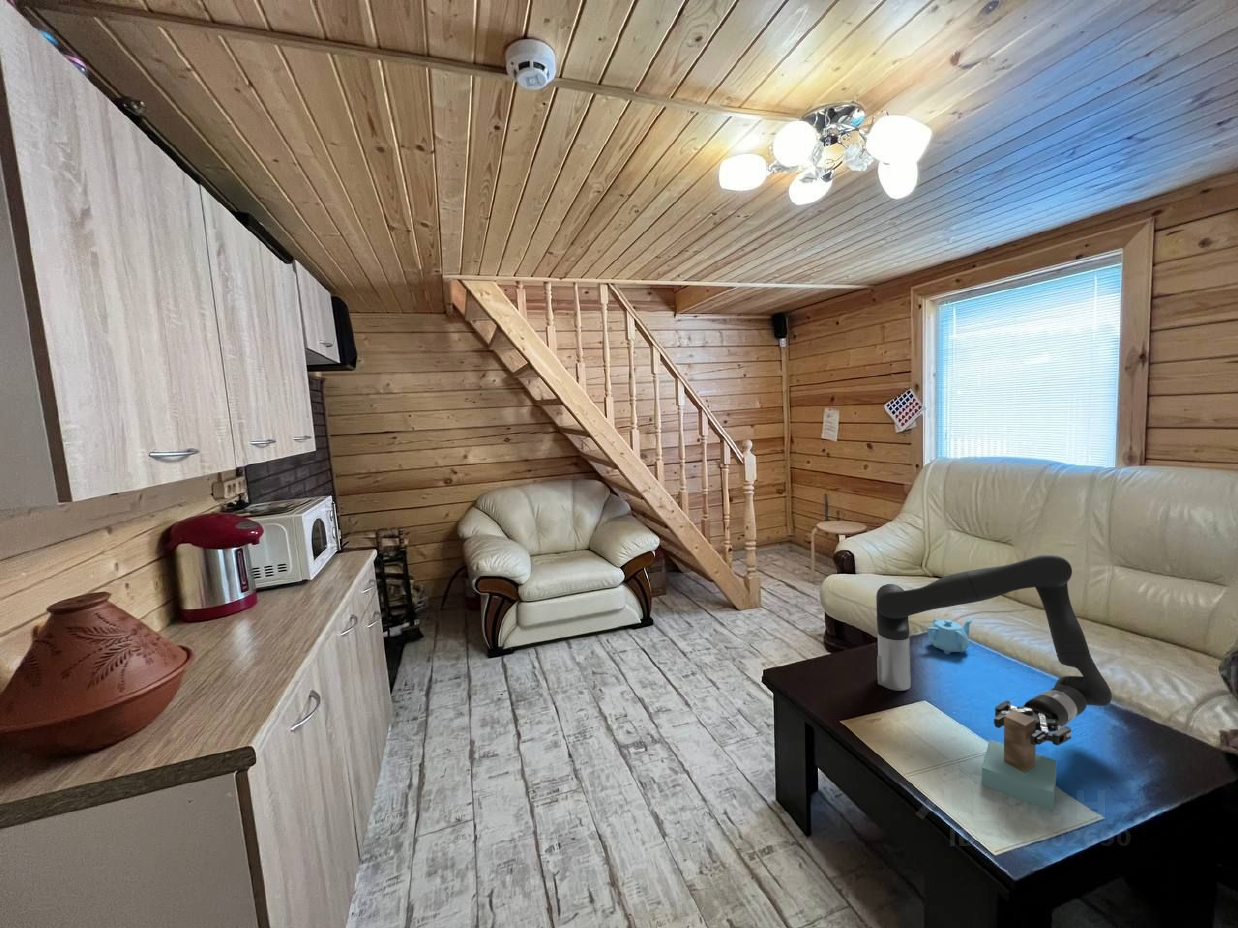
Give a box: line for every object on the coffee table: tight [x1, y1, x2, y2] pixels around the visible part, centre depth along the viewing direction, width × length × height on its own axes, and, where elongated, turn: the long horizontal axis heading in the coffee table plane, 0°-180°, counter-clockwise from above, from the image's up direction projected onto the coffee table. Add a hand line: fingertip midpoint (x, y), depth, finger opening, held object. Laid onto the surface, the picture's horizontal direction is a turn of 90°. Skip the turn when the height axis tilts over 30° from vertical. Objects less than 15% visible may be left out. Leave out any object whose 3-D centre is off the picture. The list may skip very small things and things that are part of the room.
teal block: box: [981, 739, 1057, 812], centre depth 120 cm, size 13×13×5 cm
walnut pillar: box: [1003, 710, 1037, 773], centre depth 119 cm, size 4×4×12 cm
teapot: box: [926, 618, 974, 655], centre depth 185 cm, size 13×14×11 cm
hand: (1014, 731), depth 118 cm, fingers open, 7 cm apart
